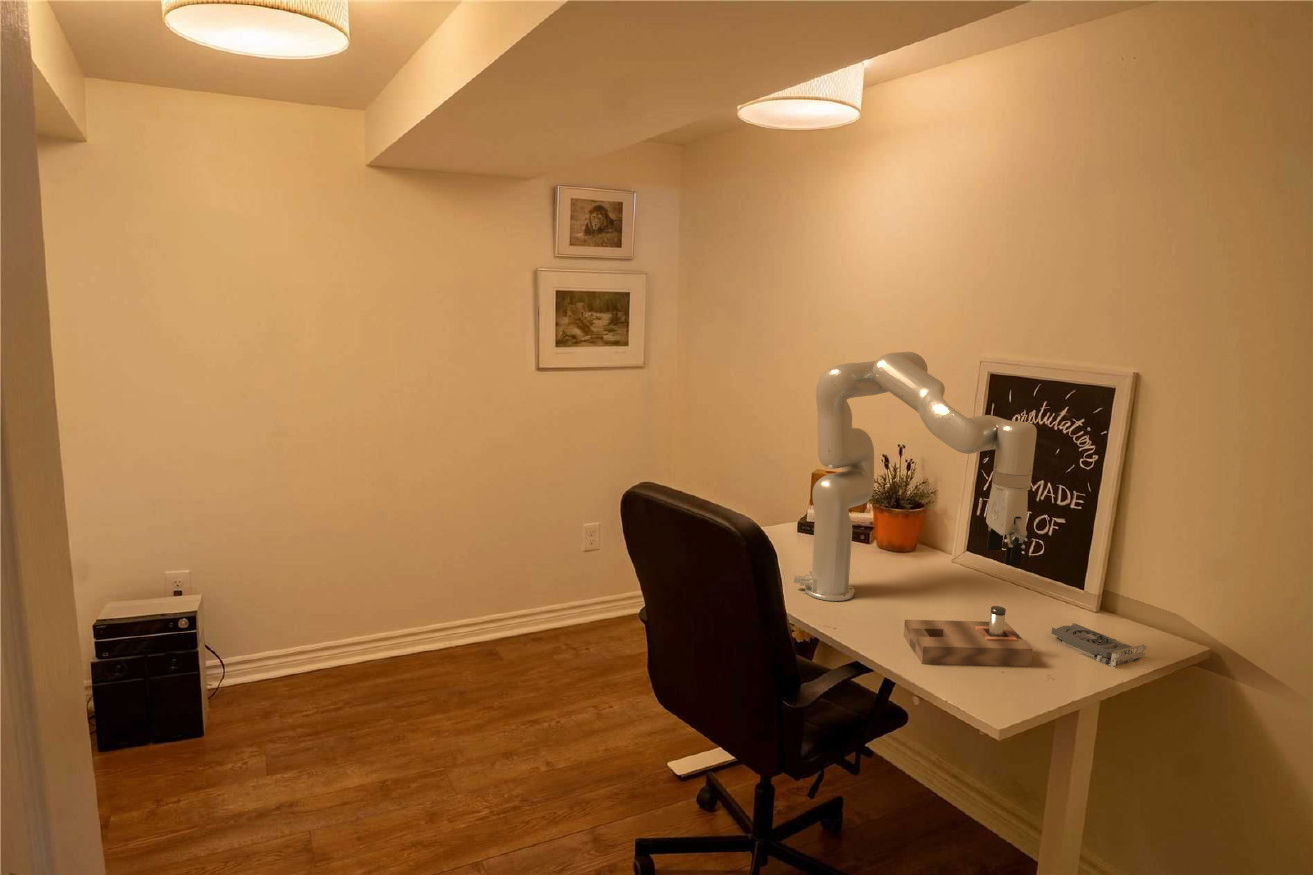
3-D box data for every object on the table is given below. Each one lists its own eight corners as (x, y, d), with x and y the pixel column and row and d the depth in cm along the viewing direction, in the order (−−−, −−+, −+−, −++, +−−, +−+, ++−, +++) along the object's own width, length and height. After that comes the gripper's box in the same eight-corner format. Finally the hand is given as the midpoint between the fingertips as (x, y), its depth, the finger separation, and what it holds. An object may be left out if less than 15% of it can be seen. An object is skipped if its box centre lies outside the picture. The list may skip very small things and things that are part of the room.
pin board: (921, 663, 176) (923, 644, 175) (903, 636, 189) (904, 617, 188) (1030, 666, 175) (1032, 647, 174) (1004, 638, 189) (1006, 620, 188)
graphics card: (1151, 645, 180) (1115, 654, 174) (1149, 661, 180) (1113, 670, 175) (1082, 618, 195) (1047, 625, 189) (1080, 633, 195) (1045, 640, 190)
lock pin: (989, 654, 181) (994, 611, 179) (984, 648, 184) (988, 605, 182) (1003, 654, 181) (1008, 611, 179) (998, 648, 184) (1002, 606, 182)
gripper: (978, 469, 183) (971, 543, 187) (1010, 489, 166) (1001, 570, 170) (1012, 470, 183) (1004, 544, 187) (1047, 490, 166) (1038, 571, 170)
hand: (1003, 556), depth 178 cm, fingers open, 9 cm apart
